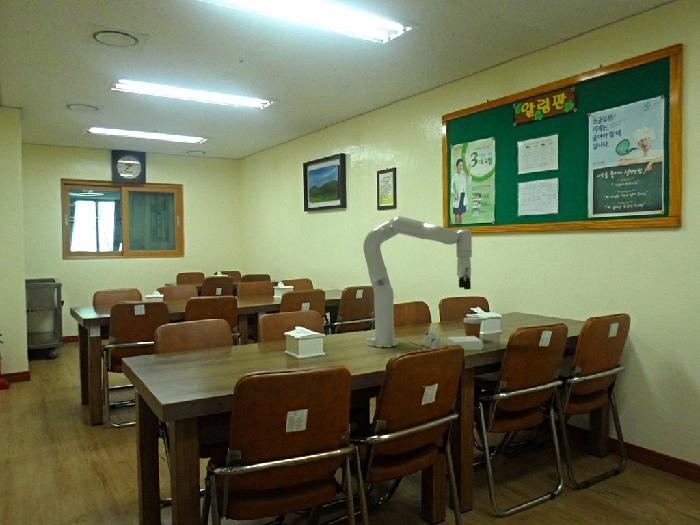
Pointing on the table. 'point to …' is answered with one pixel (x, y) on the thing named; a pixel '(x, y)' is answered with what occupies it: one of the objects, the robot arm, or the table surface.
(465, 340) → the stand
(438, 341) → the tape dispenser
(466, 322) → the disposable coffee cup
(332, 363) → the table surface
